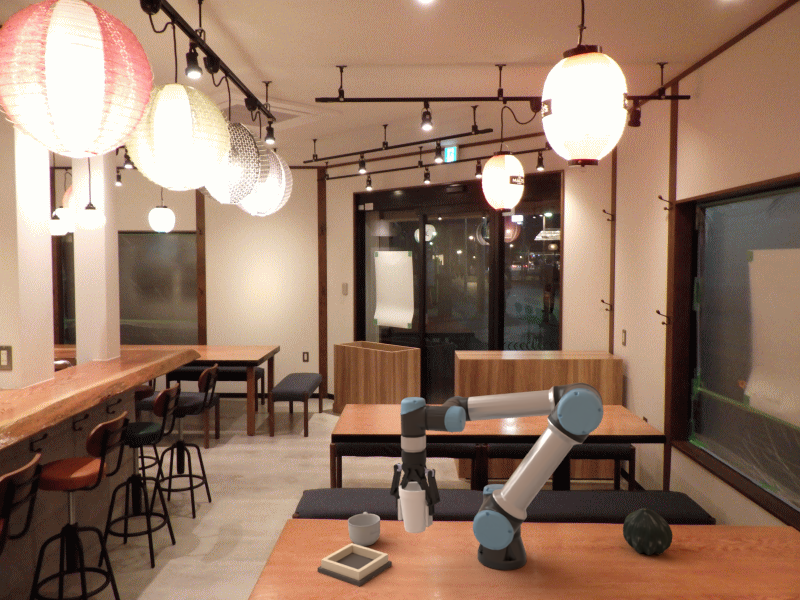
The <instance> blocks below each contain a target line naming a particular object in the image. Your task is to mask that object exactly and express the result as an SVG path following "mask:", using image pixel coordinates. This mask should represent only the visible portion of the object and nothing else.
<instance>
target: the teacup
mask: <svg viewBox="0 0 800 600" xmlns="http://www.w3.org/2000/svg"><path fill="white" fill-rule="evenodd" d="M347 526H348V527H347V528H348V535H349V539H350V540H351V543H352V542H353V544H357V545H360V546H363V547H368V546H371V545H373V544H376V542H377V541H378V539H379V538H380V535H381V518H380V516H379V515H377V514H374V513H368V511H363V512H362V513H359V514H354V515H353V516H351V517H349V518H348V519H347Z"/></svg>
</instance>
